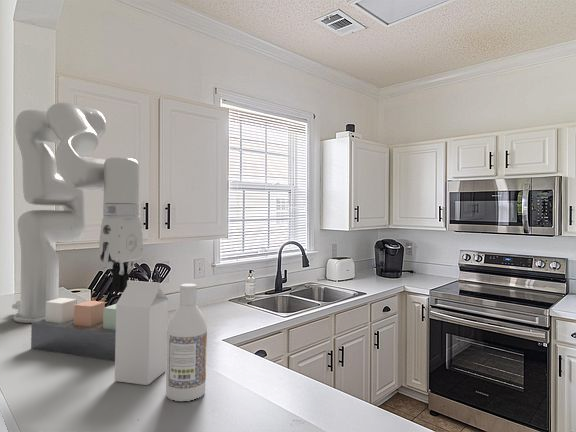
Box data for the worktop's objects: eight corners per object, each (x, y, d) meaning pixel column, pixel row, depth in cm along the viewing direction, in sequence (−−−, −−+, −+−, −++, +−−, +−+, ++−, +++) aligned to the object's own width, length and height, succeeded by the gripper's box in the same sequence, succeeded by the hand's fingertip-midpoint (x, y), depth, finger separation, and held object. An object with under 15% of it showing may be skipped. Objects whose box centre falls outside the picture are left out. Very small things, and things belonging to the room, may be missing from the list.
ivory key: (45, 326, 94) (45, 301, 94) (60, 321, 99) (61, 297, 99) (61, 328, 93) (61, 303, 93) (76, 323, 98) (76, 299, 98)
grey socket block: (31, 349, 92) (31, 323, 92) (65, 335, 102) (65, 312, 102) (116, 361, 87) (117, 333, 87) (144, 346, 96) (144, 321, 96)
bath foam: (209, 399, 71) (212, 287, 71) (169, 406, 68) (172, 289, 68) (200, 383, 77) (202, 280, 77) (163, 389, 74) (165, 282, 74)
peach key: (73, 330, 93) (74, 304, 92) (88, 324, 97) (88, 300, 97) (90, 332, 91) (90, 306, 91) (104, 326, 96) (104, 302, 96)
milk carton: (147, 386, 75) (150, 286, 75) (114, 381, 77) (116, 283, 76) (166, 371, 82) (168, 279, 82) (135, 367, 84) (137, 277, 83)
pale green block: (103, 334, 91) (103, 307, 90) (116, 328, 95) (116, 303, 95) (120, 336, 89) (121, 309, 89) (133, 330, 94) (133, 305, 94)
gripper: (113, 212, 83) (112, 299, 84) (154, 212, 98) (153, 286, 98) (83, 211, 85) (82, 297, 85) (127, 211, 100) (126, 285, 100)
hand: (120, 291), depth 92 cm, fingers closed
